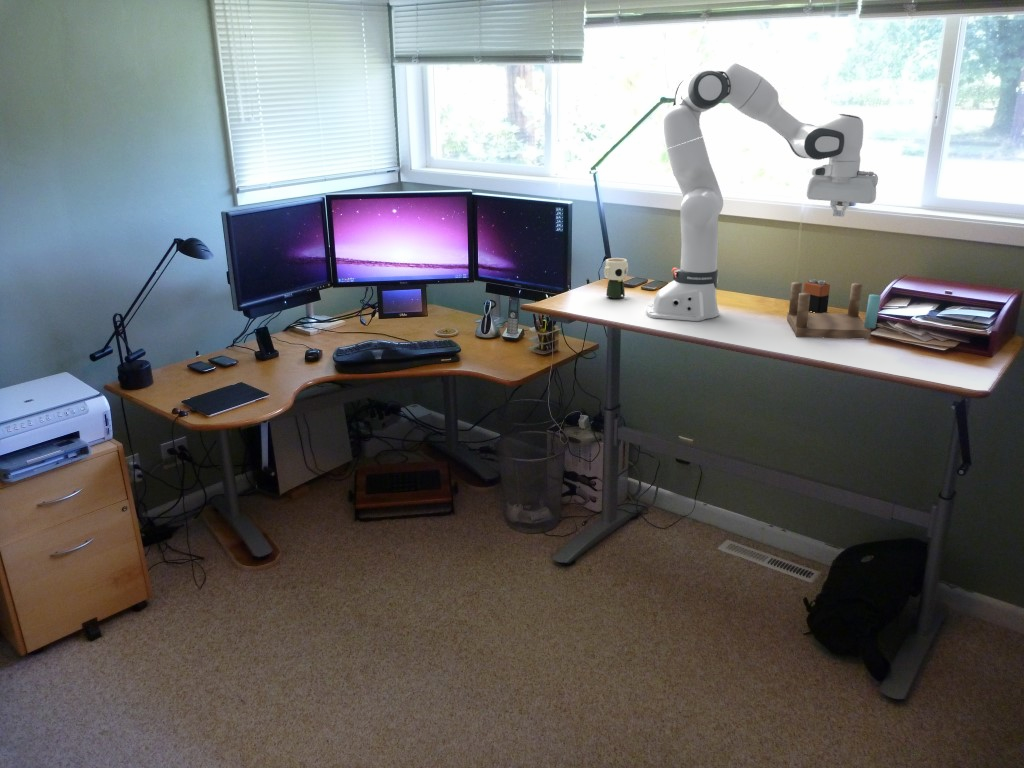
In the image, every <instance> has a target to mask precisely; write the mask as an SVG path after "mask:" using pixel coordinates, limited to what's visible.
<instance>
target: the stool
mask: <svg viewBox="0 0 1024 768" xmlns="http://www.w3.org/2000/svg"><path fill="white" fill-rule="evenodd" d="M850 285H851V286H850V293H849V294H850V295H849V303H848V310H847V313H836V312H835V313H833V312H832V313H831V312H830V313H829V312H825V313H812V312H808V311H809V302H810V294H809V293H803V292H802V291H803V290H802V288H803V283H802V282H799V281H793V282H791V285H790V286H791V287H790V295H789V296H790V297H789V306H788V307H789V308H788V311H787V316H786V320H787V323H788V325H789V326H790V328H791V330H792V332H793V335H795V338H817V339H818V338H821V339H822V337H824V339H828V338H829V339H852V338H864V339H863V340H868V339H867V338H870V339H871V334H872V329H871V328H866V327H864V323H865V321H864V320H863V319H862V318H861V317H860V316H859V315H860V309H861V308H860V307H861V300H862V291H863V283H860V282H859V283H858V282H853V283H851V284H850Z"/></svg>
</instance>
